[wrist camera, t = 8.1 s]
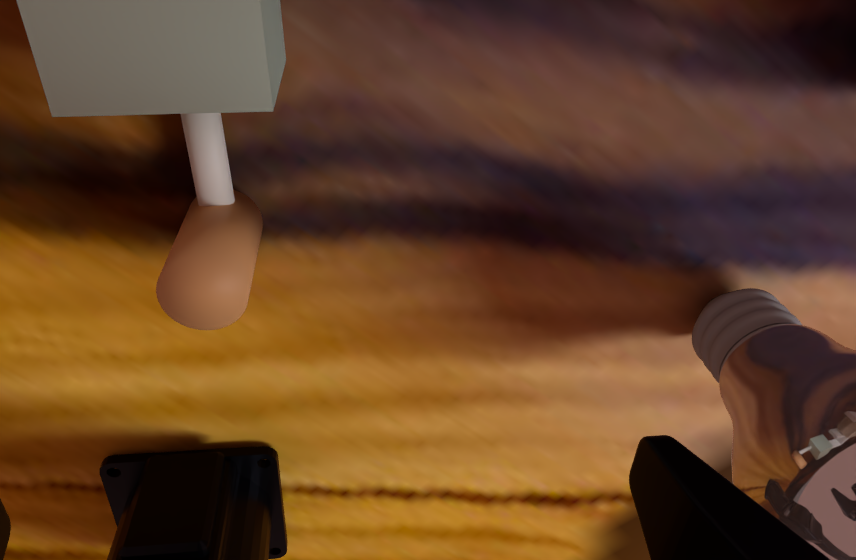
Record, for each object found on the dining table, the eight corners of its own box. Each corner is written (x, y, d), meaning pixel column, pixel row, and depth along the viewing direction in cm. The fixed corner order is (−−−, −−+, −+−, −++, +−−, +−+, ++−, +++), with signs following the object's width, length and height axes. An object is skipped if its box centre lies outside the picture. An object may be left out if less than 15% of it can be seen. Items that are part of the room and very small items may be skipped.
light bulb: (799, 352, 26) (1091, 654, 16) (633, 395, 26) (819, 721, 16) (818, 203, 22) (1217, 477, 12) (623, 255, 22) (858, 567, 12)
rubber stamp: (304, 241, 21) (298, 324, 17) (159, 248, 20) (119, 335, 16) (268, -112, 15) (247, -106, 12) (71, -114, 15) (-18, -109, 11)
